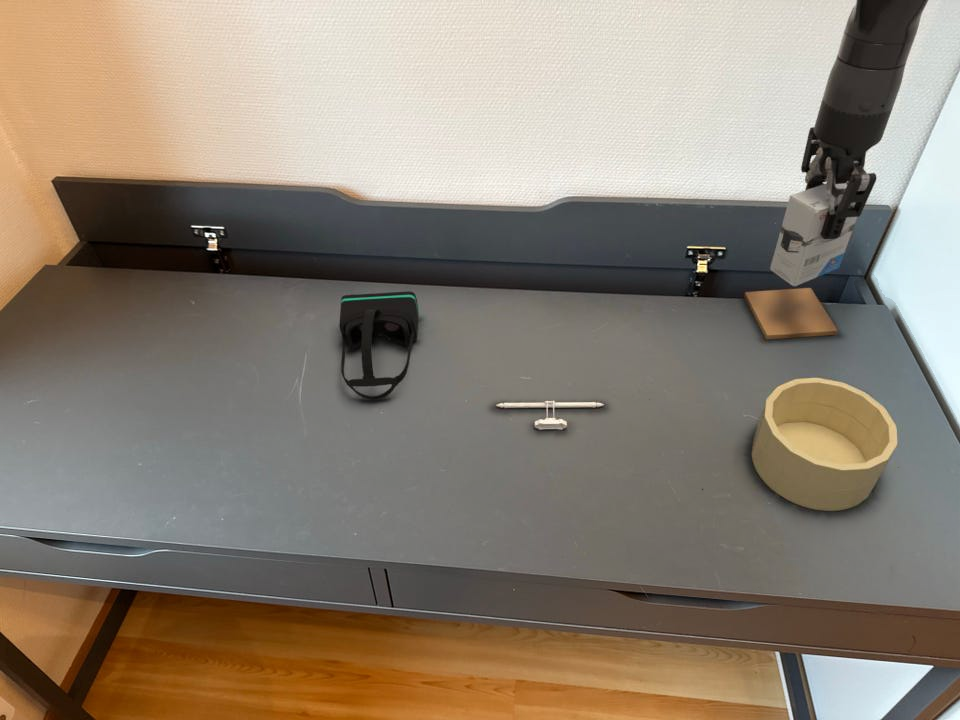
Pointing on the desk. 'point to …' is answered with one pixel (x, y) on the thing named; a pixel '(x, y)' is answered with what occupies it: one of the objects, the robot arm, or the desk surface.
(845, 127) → the robot arm
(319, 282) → the desk surface
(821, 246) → the ink box
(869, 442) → the pot
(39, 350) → the desk surface
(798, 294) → the plate
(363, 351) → the virtual reality headset
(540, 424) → the picture light
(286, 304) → the desk surface
